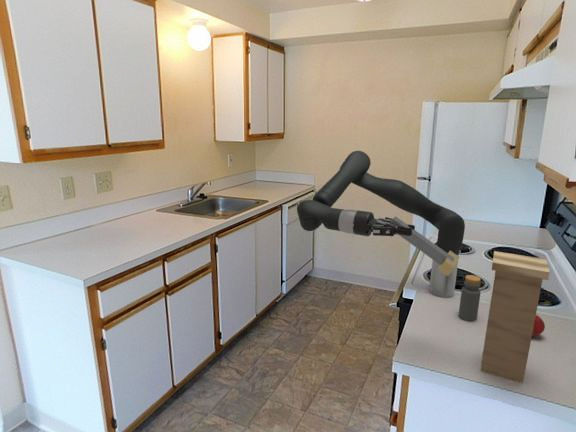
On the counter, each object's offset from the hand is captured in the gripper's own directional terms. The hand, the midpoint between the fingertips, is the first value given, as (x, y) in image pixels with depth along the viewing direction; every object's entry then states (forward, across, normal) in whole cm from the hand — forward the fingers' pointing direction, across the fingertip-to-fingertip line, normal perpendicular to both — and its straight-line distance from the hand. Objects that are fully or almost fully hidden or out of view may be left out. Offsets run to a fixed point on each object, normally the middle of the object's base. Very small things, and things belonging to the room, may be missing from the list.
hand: (412, 230), depth 108 cm
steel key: (+2, 0, -4) cm, 5 cm away
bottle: (+16, -26, -36) cm, 47 cm away
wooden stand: (+27, 0, -36) cm, 45 cm away
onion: (+35, -24, -36) cm, 56 cm away
